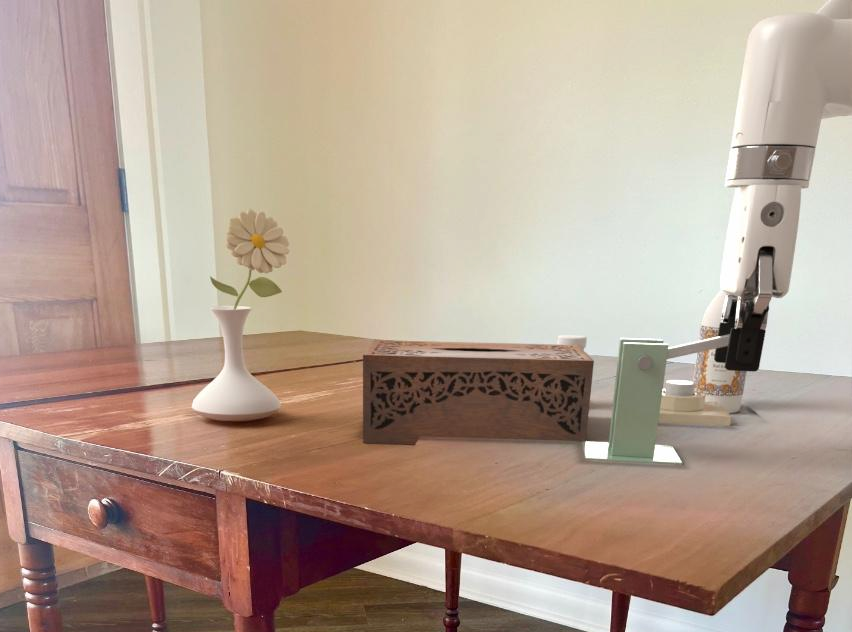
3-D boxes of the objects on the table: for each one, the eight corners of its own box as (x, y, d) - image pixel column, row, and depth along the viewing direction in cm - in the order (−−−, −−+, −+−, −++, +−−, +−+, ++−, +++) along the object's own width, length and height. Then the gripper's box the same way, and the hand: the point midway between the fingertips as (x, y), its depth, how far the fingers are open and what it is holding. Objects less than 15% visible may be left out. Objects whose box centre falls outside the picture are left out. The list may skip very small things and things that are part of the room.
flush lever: (745, 344, 91) (742, 321, 90) (755, 350, 86) (753, 325, 85) (627, 370, 94) (624, 347, 93) (631, 377, 89) (628, 353, 88)
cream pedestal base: (714, 418, 119) (719, 388, 117) (729, 433, 109) (734, 401, 108) (625, 414, 120) (628, 384, 119) (632, 428, 111) (635, 397, 109)
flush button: (690, 394, 115) (692, 380, 114) (694, 398, 111) (697, 385, 111) (662, 392, 115) (664, 379, 115) (666, 397, 112) (668, 383, 111)
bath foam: (687, 412, 122) (709, 260, 114) (690, 403, 128) (711, 258, 120) (739, 416, 120) (765, 261, 112) (740, 407, 126) (765, 260, 118)
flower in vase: (192, 429, 106) (174, 206, 97) (193, 411, 117) (177, 208, 107) (298, 426, 109) (291, 209, 99) (290, 409, 119) (283, 210, 109)
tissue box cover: (363, 443, 101) (362, 355, 97) (374, 418, 114) (374, 340, 111) (584, 449, 100) (593, 360, 96) (570, 424, 113) (577, 344, 109)
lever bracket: (670, 455, 98) (687, 338, 93) (681, 474, 91) (699, 347, 86) (581, 451, 99) (592, 335, 94) (584, 468, 92) (597, 344, 87)
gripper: (838, 164, 74) (795, 381, 81) (786, 177, 90) (754, 357, 97) (747, 163, 75) (712, 377, 82) (712, 175, 91) (685, 354, 98)
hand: (735, 364), depth 89 cm, fingers closed on flush lever, 5 cm apart
